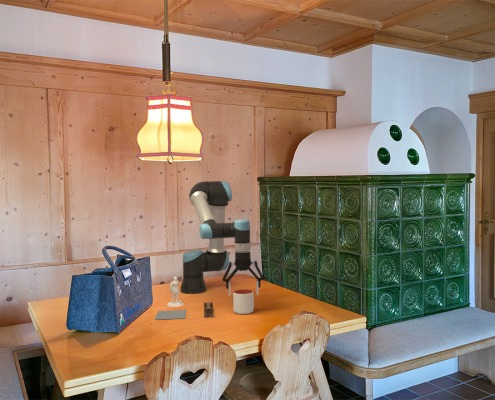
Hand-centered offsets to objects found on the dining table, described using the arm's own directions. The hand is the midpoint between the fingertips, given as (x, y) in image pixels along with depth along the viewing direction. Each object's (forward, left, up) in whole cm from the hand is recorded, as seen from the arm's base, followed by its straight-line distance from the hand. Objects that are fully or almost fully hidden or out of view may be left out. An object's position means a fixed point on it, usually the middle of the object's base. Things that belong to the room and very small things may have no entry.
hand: (243, 294), depth 233 cm
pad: (0, -35, -9) cm, 36 cm away
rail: (0, -17, -9) cm, 19 cm away
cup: (0, 0, -9) cm, 9 cm away
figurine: (-19, -34, -9) cm, 40 cm away
